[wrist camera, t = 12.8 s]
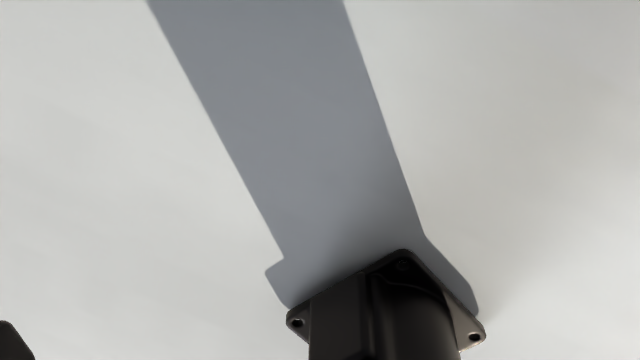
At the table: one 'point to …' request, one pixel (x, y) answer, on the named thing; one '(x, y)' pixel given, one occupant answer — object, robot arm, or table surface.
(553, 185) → the table surface
